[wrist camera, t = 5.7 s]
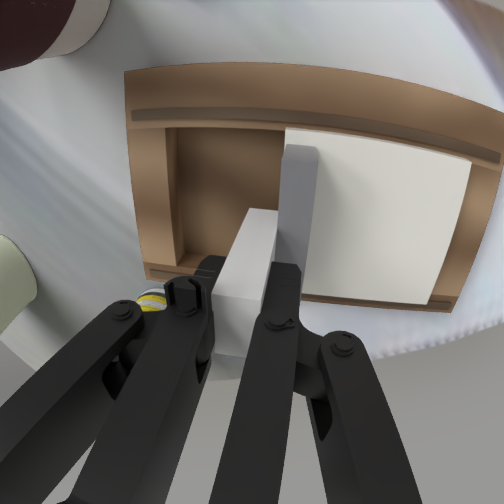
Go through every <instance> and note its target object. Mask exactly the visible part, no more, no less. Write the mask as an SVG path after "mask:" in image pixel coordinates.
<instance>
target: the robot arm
mask: <svg viewBox="0 0 504 504" xmlns="http://www.w3.org/2000/svg"><path fill="white" fill-rule="evenodd" d="M277 221H278V211H275V210H265V209H255V208H249V210H248V212H247V214H246V217H245V219H244V221H243V223H242V225H241V228H240V230H239V232H238V234H237V236H236V239H235V241H234V243H233V245H232V248H231V250H230V252H229V254H228V257H225V256H217V255H209V256H207V257H206V258H204V259H203V260H202V261H201V262H200V264H199V266H198V267H197V270H196V271H195V273H194V274H193V276H179V277H175V278H173V279H171V280H169V281H167V282H166V283H165V284H164V291H165V297H166V303H167V307H166V309H164V310H159V311H142V309H141V307H140V305H139V304H138V303H136V302H135V301H131V300H121V301H117V302H114V303H113V304H111V305H110V306H108V307H107V308H106V309H105V310H104V311H102V312H101V313H100V314H99V315H98V316H97V317H96V318H94V319H93V320H92V321H91V322H90V323H89V324H88V325H87V326H85V327H84V328H83V329H82V330H81V331H80V332H79V333H78V334H77V335H75V336H74V337H73V338H72V339H71V340H70V341H69V342H68V343H67V344H66V345H64V346H63V347H62V348H61V349H60V350H59V351H58V352H57V353H56V354H55V355H54V356H53V357H52V358H50V359H49V360H48V361H47V362H46V363H45V364H44V365H43V366H42V367H41V368H40V369H39V370H38V371H37V372H36V373H35V374H34V375H33V376H32V377H30V378H29V379H28V380H27V381H26V382H25V383H24V384H23V385H22V386H21V387H20V388H19V389H18V390H17V391H16V392H15V393H14V394H13V395H12V396H11V397H10V398H9V399H8V400H7V401H6V402H5V403H4V404H3V405H2V406H1V407H0V504H42V502H43V501H44V500H45V499H46V498H47V496H48V495H49V494H50V493H51V492H52V491H53V489H54V488H55V487H56V486H57V485H58V483H59V482H60V481H61V480H62V479H63V477H64V476H65V475H66V474H67V473H68V472H69V470H70V469H71V468H72V467H73V466H74V465H75V463H76V462H77V461H78V460H79V459H80V457H81V456H82V455H83V454H84V453H85V451H86V450H87V449H88V448H89V447H90V446H91V444H92V443H93V442H94V441H95V440H96V441H95V443H94V445H93V447H92V449H91V451H90V453H89V455H88V457H87V460H86V462H85V464H84V466H83V468H82V470H81V472H80V475H79V477H78V479H77V481H76V483H75V485H74V488H73V490H72V492H71V494H70V496H69V497H68V498H67V499H66V500H65V501H63V502H60V503H57V504H165V501H166V498H167V495H168V492H169V489H170V486H171V483H172V480H173V477H174V474H175V471H176V468H177V465H178V462H179V459H180V456H181V453H182V450H183V447H184V444H185V441H186V438H187V435H188V432H189V429H190V426H191V423H192V420H193V417H194V414H195V411H196V408H197V405H198V402H199V399H200V396H201V393H202V390H203V387H204V384H205V381H206V379H207V376H208V373H209V370H210V367H211V352H212V349H213V346H214V348H215V353H217V354H223V355H229V356H235V357H241V358H246V361H245V365H244V369H243V373H242V377H241V381H240V385H239V389H238V393H237V397H236V401H235V405H234V409H233V413H232V417H231V421H230V425H229V428H228V433H227V436H226V440H225V444H224V448H223V452H222V455H221V459H220V463H219V467H218V470H217V474H216V478H215V482H214V485H213V489H212V493H211V497H210V500H209V504H278V499H279V493H280V486H281V480H282V473H283V466H284V459H285V453H286V445H287V437H288V430H289V421H290V414H291V405H292V396H293V391H294V392H296V393H298V394H301V395H303V396H306V401H307V406H308V410H309V415H310V420H311V424H312V429H313V434H314V438H315V443H316V448H317V453H318V457H319V462H320V467H321V473H322V477H323V482H324V487H325V493H326V497H327V503H328V504H422V501H421V497H420V494H419V491H418V488H417V485H416V482H415V479H414V475H413V472H412V469H411V466H410V464H409V461H408V458H407V455H406V452H405V449H404V446H403V443H402V441H401V438H400V435H399V432H398V429H397V427H396V424H395V421H394V419H393V416H392V414H391V411H390V408H389V406H388V403H387V401H386V398H385V395H384V393H383V390H382V388H381V385H380V383H379V380H378V378H377V375H376V373H375V371H374V368H373V366H372V363H371V361H370V358H369V356H368V354H367V351H366V349H365V347H364V344H363V343H362V341H361V340H360V339H359V338H358V337H357V336H355V335H354V334H352V333H349V332H346V331H334V332H330V333H328V334H327V335H325V336H324V337H322V336H320V335H317V334H314V333H312V332H310V331H309V330H307V329H306V328H305V327H304V326H303V325H302V324H301V322H300V320H299V304H300V288H301V274H302V272H301V270H300V269H299V267H298V265H297V264H291V263H282V262H274V260H275V248H276V236H277Z"/></svg>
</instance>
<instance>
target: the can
mask: <svg viewBox="0 0 504 504" xmlns="http://www.w3.org/2000/svg"><path fill="white" fill-rule="evenodd" d="M36 295H37V282H36V279H35V276H34V273H33V271H32V269H31V266H30V264H29V263H28V261H27V259H26V258H25V256H24V255H23V253H22V252H21V251H20V249H19V248H18V247H17V246H16V245H15V244H14V243H13V242H12V241H11V240H10V239H8V238H7V237H5V236H3V235H0V335H1V334H2V333H3V331H4V330H5V329H6V328H7V327H8V326H9V324H10V323H11V322H12V321H13V320H14V319H15V318H16V316H17V315H18V314H19V313H20V312H21V311H22V310H23V309H24V308H25V307H26V306H27V305H28V304H29V303H30V302H31V301H33V300H34V299H35V298H36Z"/></svg>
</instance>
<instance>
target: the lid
mask: <svg viewBox="0 0 504 504" xmlns="http://www.w3.org/2000/svg"><path fill="white" fill-rule="evenodd" d="M471 164H472V162H471V161H469V160H467V159H466V158H462V157H459V156H455V155H451V154H447V153H443V152H439V151H435V150H430V149H426V148H422V147H417V146H412V145H408V144H403V143H398V142H392V141H387V140H381V139H376V138H370V137H364V136H357V135H350V134H343V133H336V132H328V131H319V130H310V129H300V128H289V127H286V129H285V145H284V153H283V157H282V162H281V177H280V192H279V207H278V221H277V236H276V248H275V260H274V262H282V263H291V264H297V265H298V267H299V269H300V270H301V272H302V274H301V288H300V300H301V293H305V294H315V295H324V296H334V297H344V298H354V299H365V300H376V301H387V302H399V303H412V304H425V305H426V304H427V302H428V300H429V297H430V295H431V292H432V290H433V288H434V285H435V283H436V280H437V278H438V275H439V272H440V270H441V267H442V264H443V262H444V259H445V256H446V253H447V250H448V247H449V245H450V242H451V239H452V235H453V232H454V229H455V226H456V223H457V219H458V216H459V213H460V209H461V205H462V202H463V198H464V194H465V190H466V186H467V182H468V178H469V174H470V169H471ZM299 306H300V304H299Z"/></svg>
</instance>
